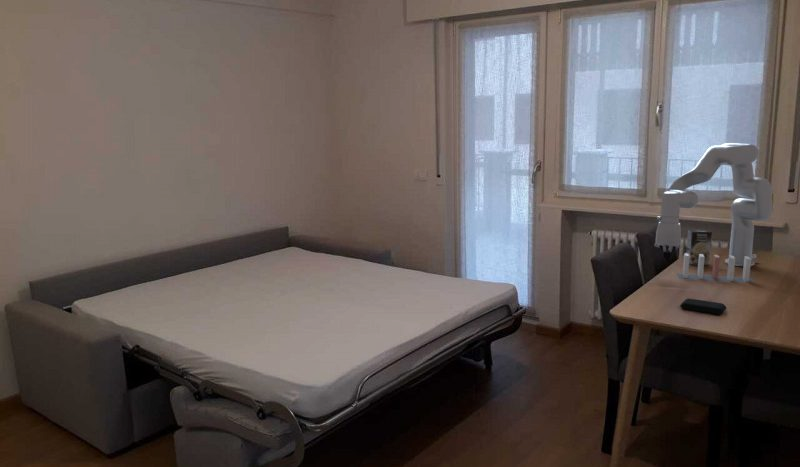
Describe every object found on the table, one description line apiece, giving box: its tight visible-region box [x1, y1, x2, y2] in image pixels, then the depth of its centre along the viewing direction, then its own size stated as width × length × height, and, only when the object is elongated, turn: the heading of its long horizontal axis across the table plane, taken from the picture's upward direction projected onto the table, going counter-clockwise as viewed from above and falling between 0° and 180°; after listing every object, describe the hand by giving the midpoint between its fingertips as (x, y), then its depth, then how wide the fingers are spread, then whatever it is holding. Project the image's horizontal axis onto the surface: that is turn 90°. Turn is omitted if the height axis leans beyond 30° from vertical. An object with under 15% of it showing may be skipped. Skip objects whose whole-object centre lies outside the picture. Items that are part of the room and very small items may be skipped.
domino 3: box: [726, 255, 736, 281], centre depth 269 cm, size 2×5×10 cm, turn 162°
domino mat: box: [676, 273, 756, 284], centre depth 272 cm, size 30×8×1 cm, turn 72°
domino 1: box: [682, 252, 690, 278], centre depth 275 cm, size 2×5×10 cm, turn 162°
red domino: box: [711, 254, 721, 280], centre depth 271 cm, size 2×5×10 cm, turn 162°
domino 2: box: [696, 254, 705, 279], centre depth 273 cm, size 2×5×10 cm, turn 162°
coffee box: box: [685, 229, 713, 266], centre depth 299 cm, size 9×6×16 cm
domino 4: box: [741, 256, 751, 282], centre depth 267 cm, size 2×5×10 cm, turn 162°
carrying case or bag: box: [679, 298, 727, 317], centre depth 232 cm, size 11×3×15 cm
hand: (666, 260), depth 277 cm, fingers closed
